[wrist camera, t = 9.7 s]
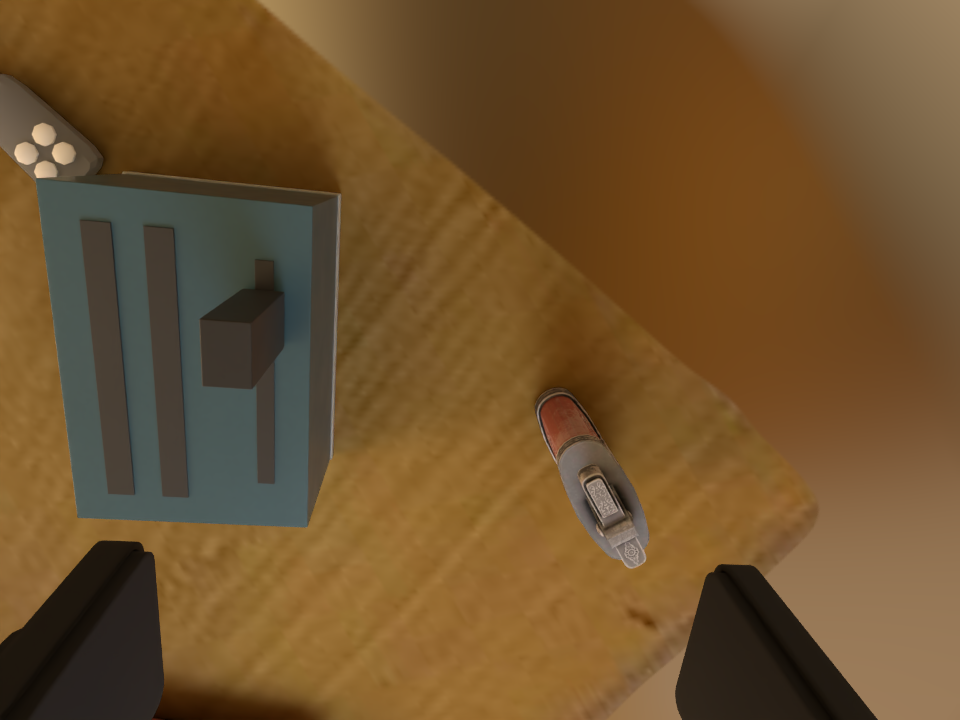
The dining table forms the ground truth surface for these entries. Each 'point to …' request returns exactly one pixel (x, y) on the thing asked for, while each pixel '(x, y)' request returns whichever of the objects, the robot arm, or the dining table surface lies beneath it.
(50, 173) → the key chain
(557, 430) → the lighter
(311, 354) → the toaster
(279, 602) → the dining table surface
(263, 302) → the slider
